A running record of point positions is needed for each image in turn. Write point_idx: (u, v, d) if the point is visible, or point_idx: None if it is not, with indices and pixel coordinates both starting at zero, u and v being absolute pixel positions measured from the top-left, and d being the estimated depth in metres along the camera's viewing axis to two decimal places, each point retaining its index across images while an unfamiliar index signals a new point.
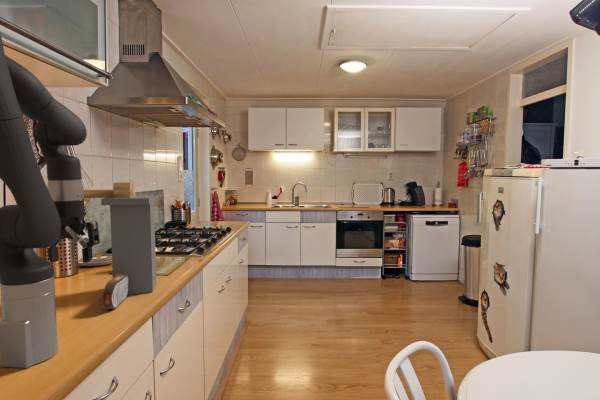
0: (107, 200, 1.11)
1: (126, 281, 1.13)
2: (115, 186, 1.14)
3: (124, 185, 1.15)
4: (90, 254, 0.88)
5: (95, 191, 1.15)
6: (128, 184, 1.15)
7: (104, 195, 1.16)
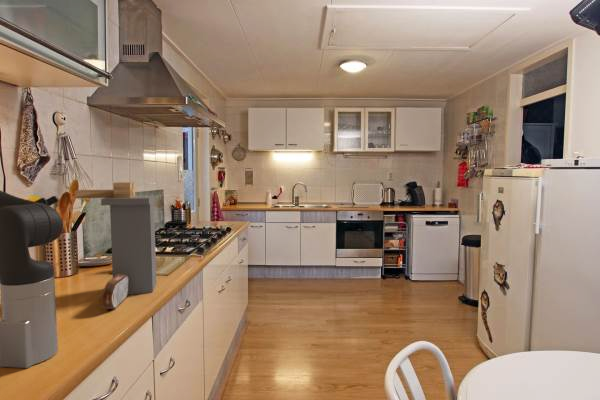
0: (107, 200, 1.11)
1: (126, 281, 1.13)
2: (115, 186, 1.14)
3: (124, 185, 1.15)
4: None
5: (95, 191, 1.15)
6: (128, 184, 1.15)
7: (104, 195, 1.16)
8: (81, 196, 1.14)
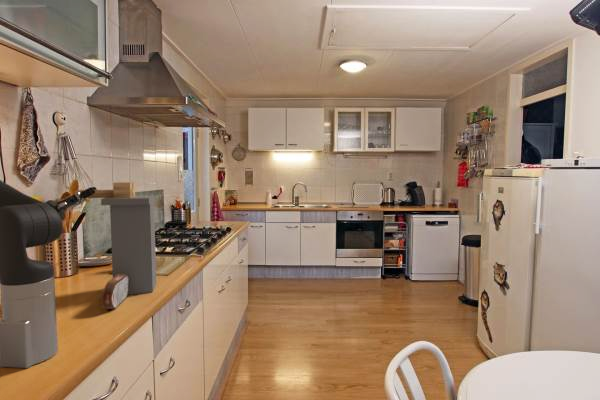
0: (107, 200, 1.11)
1: (126, 281, 1.13)
2: (115, 186, 1.14)
3: (124, 185, 1.15)
4: None
5: (95, 191, 1.15)
6: (128, 184, 1.15)
7: (104, 195, 1.16)
8: None
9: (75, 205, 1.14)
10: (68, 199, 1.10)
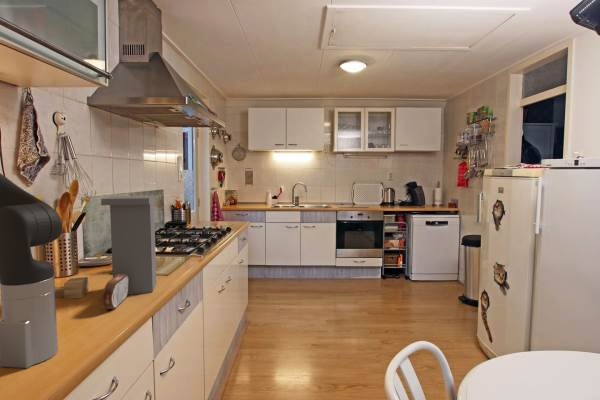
0: (107, 200, 1.11)
1: (126, 281, 1.13)
2: (66, 286, 1.12)
3: (75, 285, 1.13)
4: None
5: None
6: (80, 284, 1.13)
7: (55, 294, 1.14)
8: None
9: None
10: None
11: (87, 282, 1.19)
